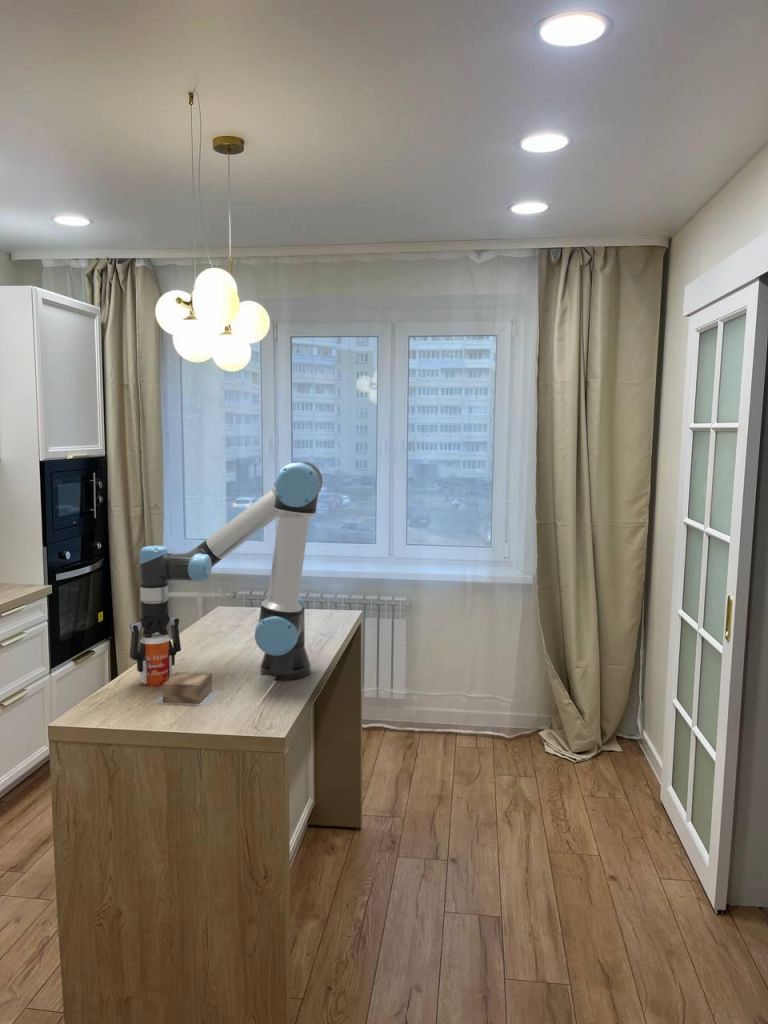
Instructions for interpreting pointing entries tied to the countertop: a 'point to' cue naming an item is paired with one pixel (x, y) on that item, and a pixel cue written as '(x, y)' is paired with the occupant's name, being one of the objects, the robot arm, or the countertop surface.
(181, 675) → the pedestal
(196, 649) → the countertop surface
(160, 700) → the build plate
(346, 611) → the countertop surface
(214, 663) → the countertop surface
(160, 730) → the countertop surface
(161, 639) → the coffee cup
